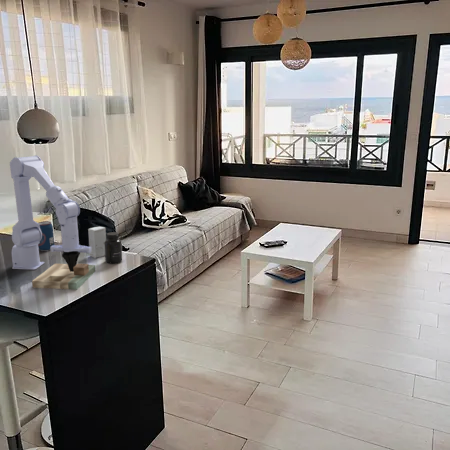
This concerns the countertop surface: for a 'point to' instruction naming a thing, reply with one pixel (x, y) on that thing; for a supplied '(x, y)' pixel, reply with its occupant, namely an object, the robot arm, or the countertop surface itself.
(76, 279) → the trap board
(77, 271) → the walnut block
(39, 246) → the soda can
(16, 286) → the countertop surface
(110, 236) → the supplement bottle
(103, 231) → the skincare box
